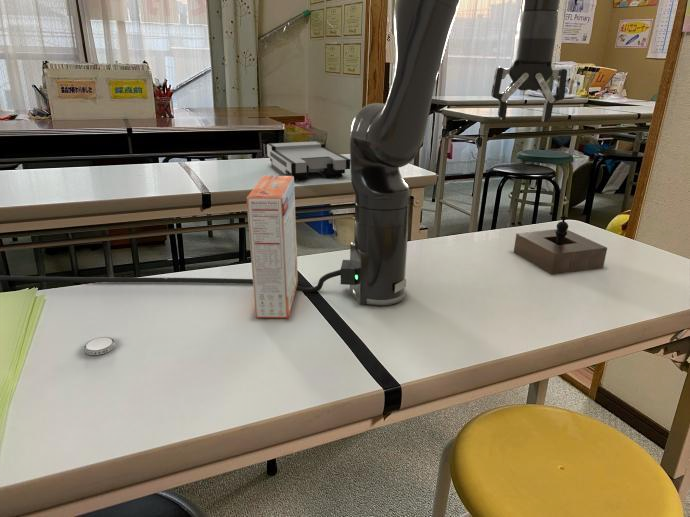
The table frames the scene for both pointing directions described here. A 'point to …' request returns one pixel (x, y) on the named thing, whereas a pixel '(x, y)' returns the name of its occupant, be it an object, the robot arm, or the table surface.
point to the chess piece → (561, 230)
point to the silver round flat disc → (99, 346)
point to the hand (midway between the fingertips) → (523, 120)
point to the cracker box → (273, 245)
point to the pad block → (559, 251)
